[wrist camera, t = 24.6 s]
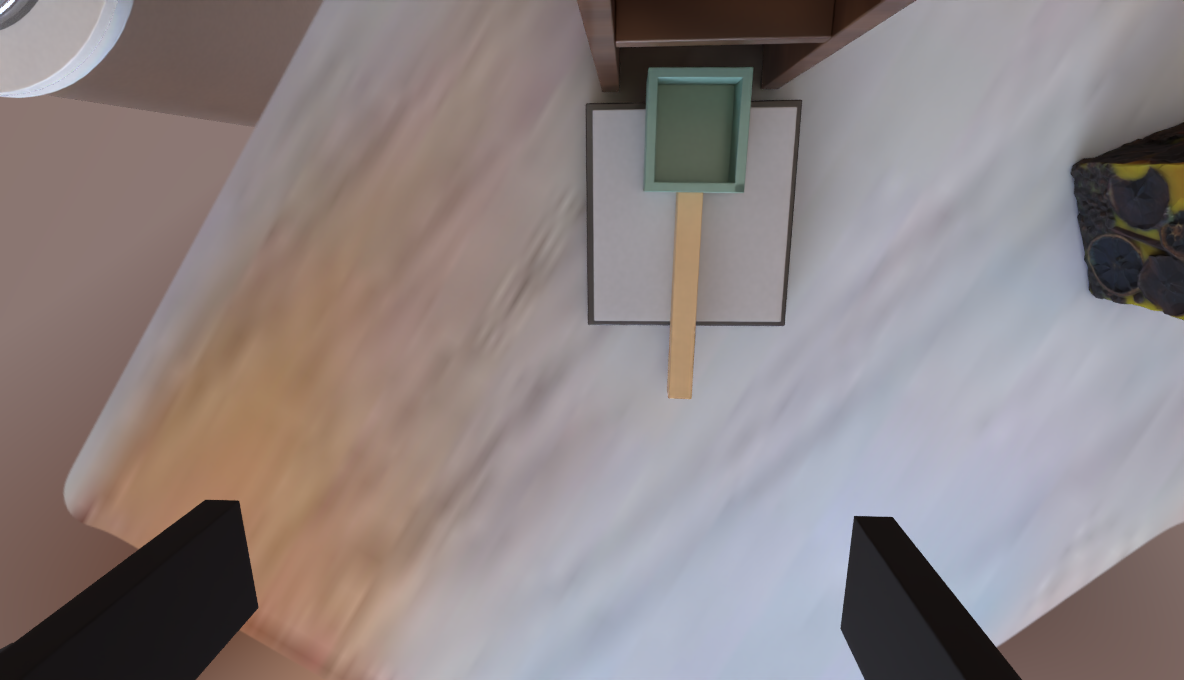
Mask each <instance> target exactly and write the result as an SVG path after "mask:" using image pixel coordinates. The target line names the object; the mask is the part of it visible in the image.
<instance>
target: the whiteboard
mask: <svg viewBox="0 0 1184 680" xmlns="http://www.w3.org/2000/svg"><path fill="white" fill-rule="evenodd" d="M801 109H802V100H764V101H751V109H750V122H749V136H748V149H747V162H746V175H745V188H744V193H703V209H702V226H701V243H700V260H699V277H698V294H697V312H696V326H784V325H785V313H786V300H787V287H788V274H789V262H790V249H791V236H792V223H793V211H794V198H795V185H796V173H797V160H798V147H799V134H800V122H801ZM645 114H646V102H645V103H587V104H586V182H587V280H588V325H670V316H671V295H672V273H673V252H674V230H675V209H676V192H644V191H643V176H644V145H645Z"/></svg>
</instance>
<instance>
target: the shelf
mask: <svg viewBox="0 0 1184 680" xmlns="http://www.w3.org/2000/svg"><path fill="white" fill-rule="evenodd" d="M914 1H916V0H577V2H578V6H579V9H580V13H581V17H582V20H583V24H584V27H585V31H586V34H587V38H588V42H589V45H590V49H591V52H592V56H593V60H594V63H595V67H596V70H597V74H598V77H599V81H600V85H601V88H602V92H619V91H620V47H651V46H696V45H740V44H764V50H763V66H762V82H761V89H779V88H780V87H782V86H783V85H785V84H786V83H788V82H790V81H791V80H793V79H794V78H796V77H797V76H799V75H800V74H802V73H804V72H805V71H807V70H808V69H810V68H811V67H813V66H814V65H816V64H818V63H819V62H821V61H822V60H824V59H825V58H827V57H829V56H830V55H832V54H833V53H835V52H836V51H838V50H839V49H841V48H843V47H844V46H846V45H847V44H849V43H850V42H852V41H853V40H855V39H857V38H858V37H860V36H861V35H863V34H864V33H866V32H868V31H869V30H871V29H872V28H874V27H875V26H877V25H878V24H880V23H882V22H883V21H885V20H886V19H888V18H889V17H891V16H892V15H894V14H896V13H897V12H899V11H900V10H902V9H903V8H905V7H907V6H908V5H910V4H911V3H913V2H914Z"/></svg>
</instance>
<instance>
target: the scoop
mask: <svg viewBox="0 0 1184 680" xmlns="http://www.w3.org/2000/svg"><path fill="white" fill-rule="evenodd" d="M753 69H754V68H753V67H649V68H648V74H647V83H646V114H645V145H644V176H643V191H644V192H676V209H675V230H674V252H673V273H672V295H671V316H670V338H669V359H668V381H667V393H668V398H674V399H691V398H692V380H693V363H694V346H695V329H696V312H697V294H698V277H699V260H700V243H701V226H702V209H703V193H744V188H745V175H746V162H747V149H748V136H749V122H750V109H751V96H752V83H753Z"/></svg>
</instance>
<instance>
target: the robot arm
mask: <svg viewBox="0 0 1184 680" xmlns="http://www.w3.org/2000/svg"><path fill="white" fill-rule="evenodd" d="M37 2H38V0H0V30H2V29H5V28H7V27H9V26H11V25H13V24H15V23H16V22H18V21H19V20H21V19H22V18H23V17H24V16H25V15H26V14H28V13H29V12H30V10H31V9H32V8H33V7H34V6H35V5H36V3H37ZM257 609H258V602H257V597H256V591H255V586H254V580H253V575H252V569H251V564H250V558H249V553H248V547H247V542H246V536H245V531H244V525H243V520H242V514H241V509H240V503H239V501H233V500H205V501H203V502H202V503H201V504H199V505H198V506H196V507H195V508H194V509H192V510H191V511H190V512H188V513H187V514H186V515H184V516H183V517H182V518H180V519H179V520H178V521H176V522H175V523H174V524H172V525H171V526H170V527H168V528H167V529H166V530H164V531H163V532H162V533H160V534H159V535H158V536H156V537H155V538H154V539H152V540H151V541H150V542H148V543H147V544H146V545H144V546H143V547H142V548H140V549H139V550H138V551H136V552H135V553H134V554H132V555H131V556H129V557H128V558H127V559H125V560H124V561H123V562H122V563H120V564H119V565H117V566H116V567H115V568H113V569H112V570H111V571H109V572H108V573H107V574H106V575H104V576H103V577H101V578H100V579H99V580H97V581H96V582H95V583H93V584H92V585H91V586H89V587H88V588H87V589H85V590H84V591H83V592H81V593H80V594H79V595H77V596H76V597H75V598H73V599H72V600H71V601H69V602H68V603H67V604H65V605H64V606H63V607H61V608H60V609H59V610H57V611H56V612H55V613H53V614H52V615H50V616H49V617H48V618H47V619H45V620H44V621H42V622H41V623H40V624H39V625H37V626H36V627H34V628H33V629H32V630H31V631H29V632H28V633H26V634H25V635H24V636H23V637H21V638H20V639H18V640H17V641H16V642H14V643H11V644H9V645H7V646H6V647H4V648H2V649H0V680H196V679H197V678H198V676H199V675H200V674H201V673H202V672H203V671H204V669H205V668H206V667H207V666H208V665H209V664H210V663H211V661H212V660H213V659H214V658H215V657H216V656H217V654H218V653H219V652H220V651H221V650H222V649H223V648H224V647H225V645H226V644H227V643H228V642H229V641H230V640H231V638H232V637H233V636H234V635H235V634H236V633H237V632H238V631H239V629H240V628H241V627H242V626H243V625H244V624H245V623H246V621H247V620H248V619H249V618H250V617H251V616H252V615H253V613H254V612H255V611H256V610H257ZM841 631H842V633H843V635H844V637H845V639H846V641H847V643H848V645H849V648H850V650H851V652H852V654H853V656H854V658H855V660H856V662H857V664H858V666H859V668H860V671H861V673H862V675H863V677H864V679H865V680H1022V679H1021V678H1020V677H1019V676H1018V674H1017V673H1016V672H1015V670H1013V668H1012V667H1011V666H1010V664H1009V663H1008V662H1007V660H1006V659H1005V658H1004V657H1003V655H1002V654H1001V653H1000V652H999V650H998V649H997V648H996V647H995V645H994V644H993V643H992V642H991V640H990V639H989V638H988V636H987V635H986V634H985V633H984V631H983V630H982V629H981V628H980V626H979V625H978V624H977V623H976V621H975V620H974V619H973V618H972V616H971V615H970V614H969V613H968V611H967V610H966V609H965V608H964V606H963V605H962V604H961V603H960V601H959V600H958V599H957V597H956V596H955V595H954V594H953V592H952V591H951V590H950V589H949V587H948V586H947V585H946V584H945V582H944V581H943V580H942V579H941V577H940V576H939V575H938V574H937V572H936V571H935V570H934V569H933V567H932V566H931V565H930V564H929V562H928V561H927V560H926V558H925V557H924V556H923V555H922V553H921V552H920V551H919V550H918V548H917V547H916V546H915V545H914V543H913V542H912V541H911V540H910V538H909V537H908V536H907V535H906V533H905V532H904V531H903V530H902V528H901V527H900V526H899V525H898V523H897V522H896V521H895V519H894V518H893V517H872V516H854V522H853V530H852V538H851V546H850V555H849V563H848V571H847V580H846V588H845V596H844V604H843V613H842V621H841Z"/></svg>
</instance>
